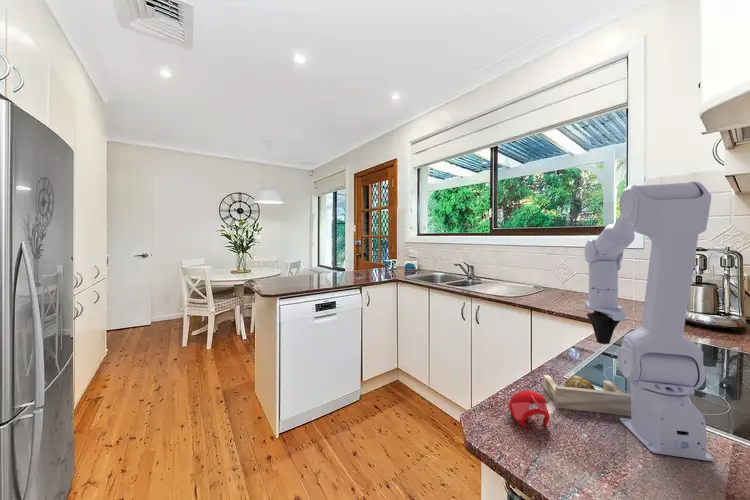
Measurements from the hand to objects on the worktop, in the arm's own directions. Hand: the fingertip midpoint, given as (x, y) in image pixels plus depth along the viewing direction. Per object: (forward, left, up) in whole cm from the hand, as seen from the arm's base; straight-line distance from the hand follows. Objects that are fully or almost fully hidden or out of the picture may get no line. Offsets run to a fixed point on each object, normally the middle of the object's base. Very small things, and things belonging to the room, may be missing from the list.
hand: (603, 343), depth 73 cm
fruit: (-10, +10, -10) cm, 17 cm away
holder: (-12, +9, -9) cm, 18 cm away
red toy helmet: (-23, +23, -10) cm, 34 cm away
